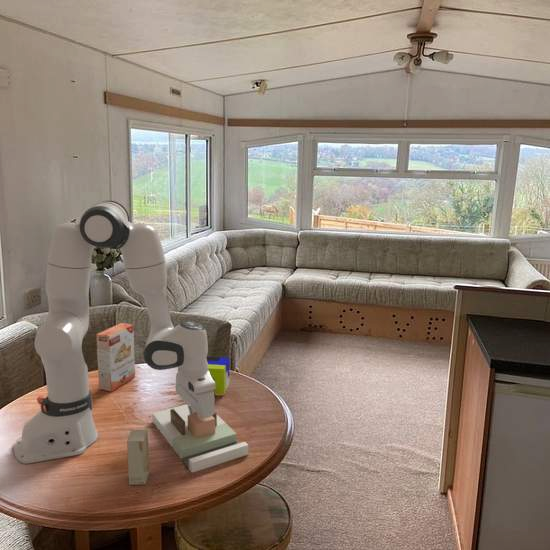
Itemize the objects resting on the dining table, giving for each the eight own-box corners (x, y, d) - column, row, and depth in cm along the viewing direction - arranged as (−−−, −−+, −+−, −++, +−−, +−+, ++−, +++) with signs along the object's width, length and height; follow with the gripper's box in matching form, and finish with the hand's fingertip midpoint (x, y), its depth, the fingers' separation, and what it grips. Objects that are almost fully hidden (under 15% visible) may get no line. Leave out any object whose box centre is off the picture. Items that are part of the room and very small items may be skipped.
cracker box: (112, 392, 183) (109, 336, 178) (98, 389, 185) (94, 333, 180) (136, 377, 195) (134, 324, 190) (123, 374, 197) (120, 322, 193)
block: (196, 438, 149) (196, 424, 148) (187, 429, 154) (187, 415, 153) (215, 432, 152) (215, 418, 151) (206, 423, 157) (206, 410, 156)
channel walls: (182, 435, 150) (181, 422, 149) (170, 421, 158) (170, 409, 157) (216, 425, 156) (216, 413, 155) (204, 412, 163) (204, 401, 163)
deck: (192, 472, 138) (191, 462, 137) (152, 421, 164) (152, 413, 163) (248, 454, 147) (248, 444, 146) (202, 408, 172) (202, 400, 172)
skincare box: (146, 485, 133) (144, 441, 130) (128, 485, 132) (126, 442, 130) (149, 470, 139) (148, 428, 136) (133, 470, 139) (131, 428, 136)
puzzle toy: (229, 383, 192) (229, 358, 189) (224, 395, 182) (223, 369, 180) (202, 381, 192) (202, 356, 190) (195, 394, 183) (195, 367, 180)
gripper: (169, 365, 160) (171, 406, 163) (197, 391, 144) (198, 436, 147) (188, 361, 164) (189, 402, 167) (218, 386, 147) (218, 430, 150)
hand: (194, 418), depth 157 cm, fingers closed
